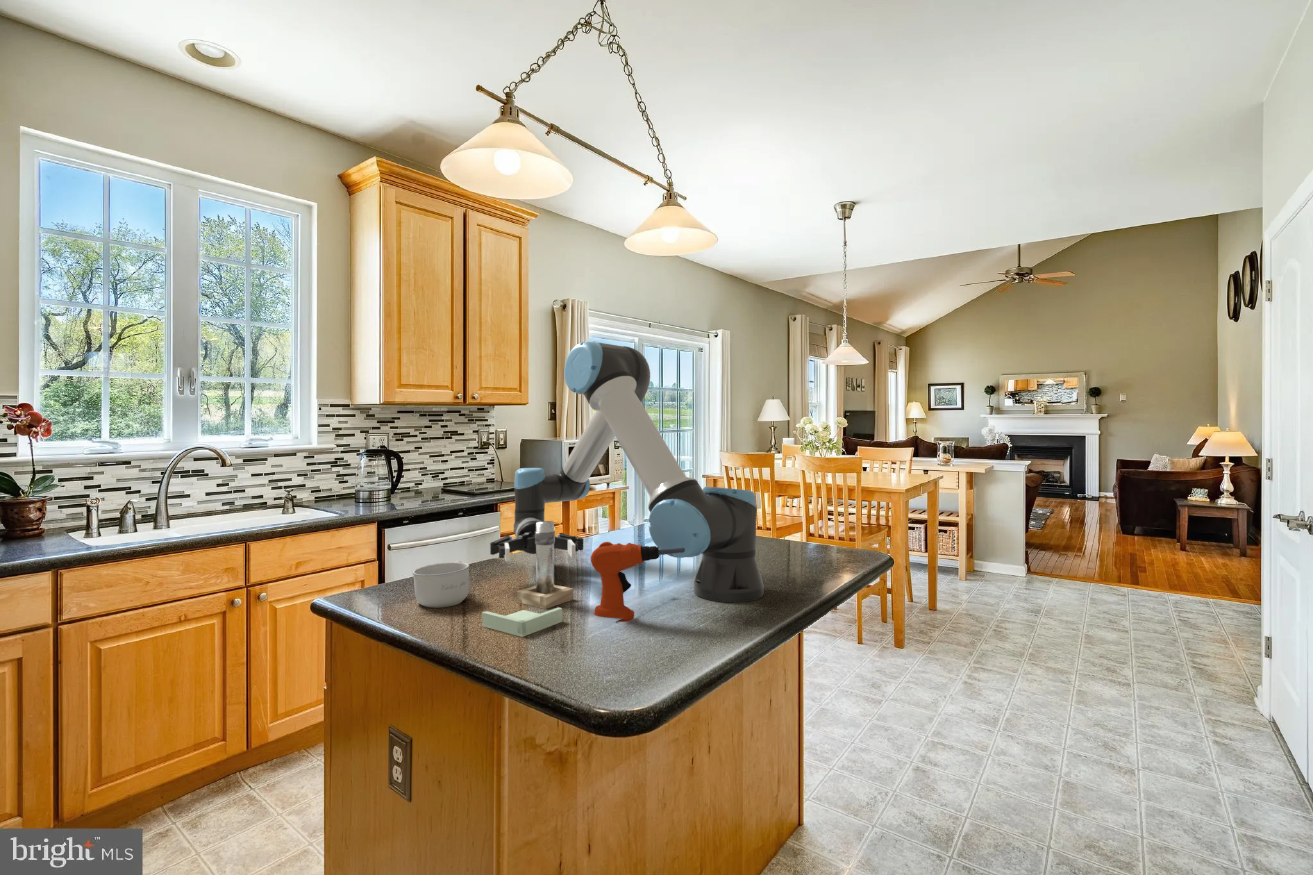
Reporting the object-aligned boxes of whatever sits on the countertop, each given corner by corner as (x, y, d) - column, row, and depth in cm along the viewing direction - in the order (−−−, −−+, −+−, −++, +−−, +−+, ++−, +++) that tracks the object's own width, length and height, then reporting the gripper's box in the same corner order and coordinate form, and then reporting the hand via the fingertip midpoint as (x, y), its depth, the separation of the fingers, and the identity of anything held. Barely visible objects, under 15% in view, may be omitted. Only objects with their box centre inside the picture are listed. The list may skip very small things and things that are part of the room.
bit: (559, 599, 127) (559, 521, 127) (545, 604, 124) (545, 524, 124) (544, 596, 129) (544, 520, 129) (530, 601, 126) (530, 522, 126)
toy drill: (691, 617, 114) (681, 536, 114) (592, 625, 116) (582, 546, 116) (693, 609, 118) (684, 531, 118) (598, 617, 121) (588, 541, 121)
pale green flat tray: (562, 625, 113) (562, 608, 113) (522, 641, 105) (521, 622, 105) (523, 616, 119) (523, 599, 119) (482, 630, 111) (482, 612, 111)
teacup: (446, 616, 119) (446, 574, 118) (400, 610, 122) (400, 570, 122) (488, 597, 132) (488, 560, 132) (446, 592, 135) (446, 556, 135)
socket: (572, 602, 128) (573, 588, 128) (545, 612, 121) (545, 597, 121) (544, 596, 132) (544, 582, 132) (516, 605, 126) (516, 591, 126)
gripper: (584, 548, 153) (600, 567, 133) (479, 554, 147) (479, 574, 126) (584, 518, 153) (600, 532, 133) (479, 522, 146) (478, 538, 126)
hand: (541, 553), depth 129 cm, fingers open, 13 cm apart
